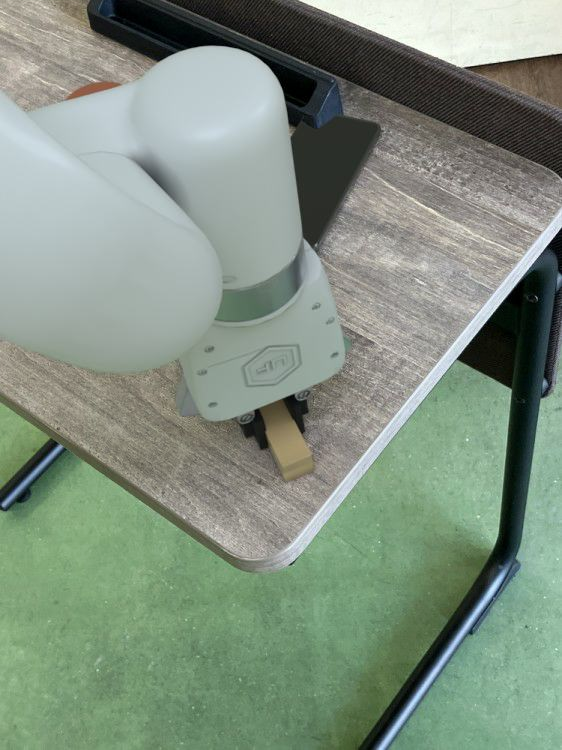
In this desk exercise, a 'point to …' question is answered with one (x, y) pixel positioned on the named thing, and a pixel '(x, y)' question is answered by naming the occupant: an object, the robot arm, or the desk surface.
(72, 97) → the coaster
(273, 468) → the desk surface
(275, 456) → the spatula
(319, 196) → the smartphone
